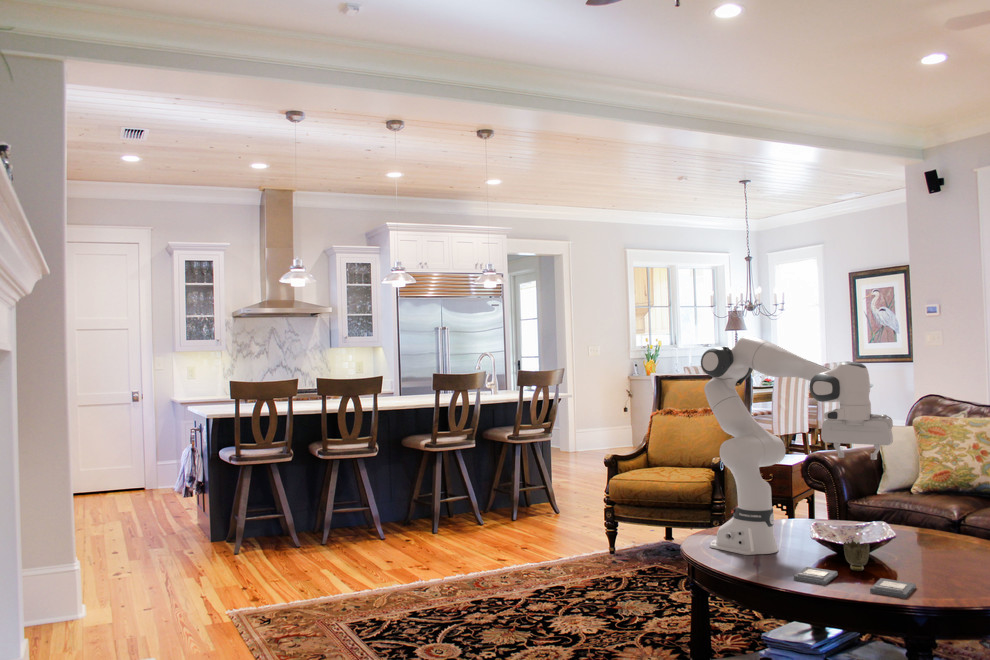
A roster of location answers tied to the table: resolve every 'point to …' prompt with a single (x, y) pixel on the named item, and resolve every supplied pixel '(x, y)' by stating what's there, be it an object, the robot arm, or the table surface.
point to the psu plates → (879, 587)
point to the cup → (856, 554)
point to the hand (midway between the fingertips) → (857, 458)
